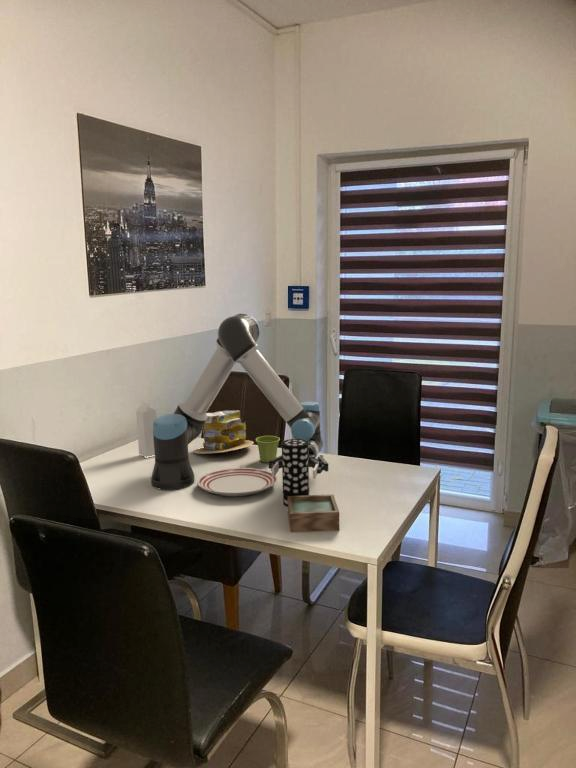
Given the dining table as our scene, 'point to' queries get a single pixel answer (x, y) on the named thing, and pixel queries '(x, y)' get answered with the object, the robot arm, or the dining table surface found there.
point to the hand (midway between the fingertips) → (293, 473)
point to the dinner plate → (237, 481)
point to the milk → (146, 429)
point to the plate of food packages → (223, 433)
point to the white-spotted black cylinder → (295, 468)
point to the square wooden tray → (313, 513)
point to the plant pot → (267, 447)
